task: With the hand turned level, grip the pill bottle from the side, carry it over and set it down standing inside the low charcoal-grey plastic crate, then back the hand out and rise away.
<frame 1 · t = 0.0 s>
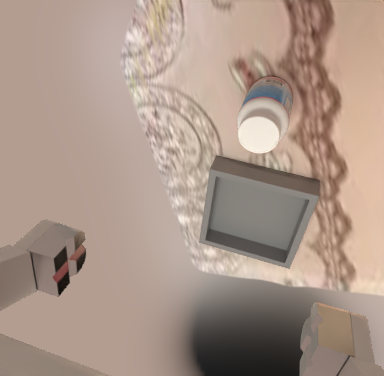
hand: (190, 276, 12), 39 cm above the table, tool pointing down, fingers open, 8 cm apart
pill bottle: (270, 97, 47), on the table
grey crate: (256, 206, 58), on the table
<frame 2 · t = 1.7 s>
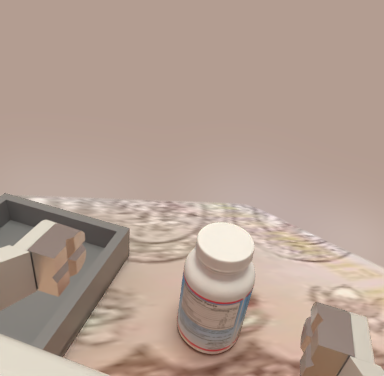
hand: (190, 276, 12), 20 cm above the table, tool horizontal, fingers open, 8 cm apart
pill bottle: (207, 328, 34), on the table
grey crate: (23, 284, 35), on the table
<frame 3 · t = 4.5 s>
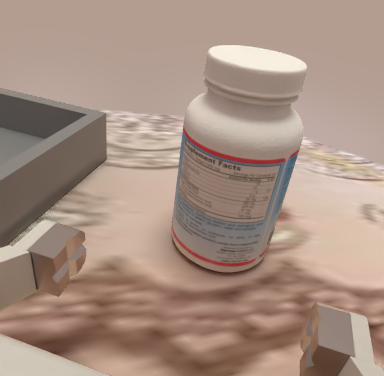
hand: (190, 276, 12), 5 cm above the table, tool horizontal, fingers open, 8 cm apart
pill bottle: (217, 243, 22), on the table
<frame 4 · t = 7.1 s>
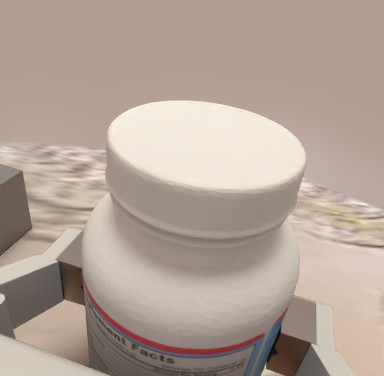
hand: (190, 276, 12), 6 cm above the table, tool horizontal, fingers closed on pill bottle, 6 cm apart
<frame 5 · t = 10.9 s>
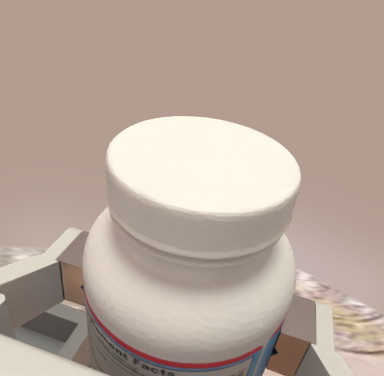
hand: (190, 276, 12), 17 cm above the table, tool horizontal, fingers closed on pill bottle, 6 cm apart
when the fingers open (8 cm above the table, at t = 15.0 s): pill bottle stays where it is, resting on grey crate.
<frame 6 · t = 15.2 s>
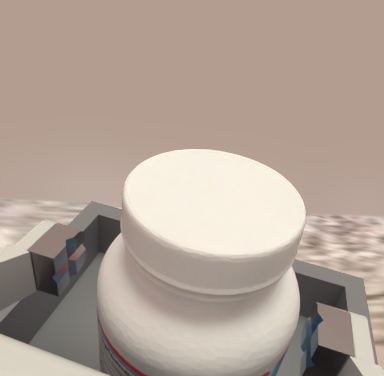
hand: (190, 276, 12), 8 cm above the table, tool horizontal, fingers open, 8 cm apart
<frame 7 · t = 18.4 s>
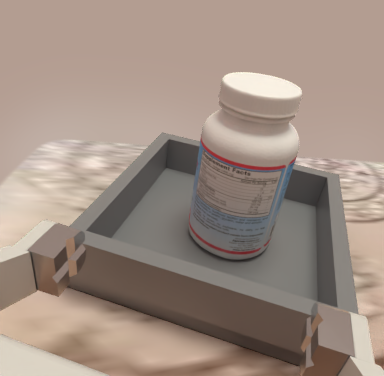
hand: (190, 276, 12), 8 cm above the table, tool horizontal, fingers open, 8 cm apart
pill bottle: (227, 236, 26), point 1 cm above the table, touching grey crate
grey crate: (219, 242, 26), on the table
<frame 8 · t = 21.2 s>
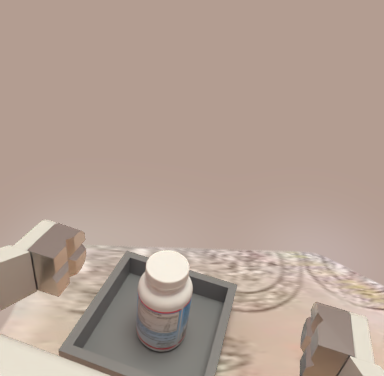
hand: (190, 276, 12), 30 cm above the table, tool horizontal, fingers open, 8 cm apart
pill bottle: (160, 331, 43), point 1 cm above the table, touching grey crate
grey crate: (156, 334, 43), on the table
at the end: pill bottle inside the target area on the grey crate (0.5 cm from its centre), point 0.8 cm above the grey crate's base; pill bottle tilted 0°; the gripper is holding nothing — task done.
